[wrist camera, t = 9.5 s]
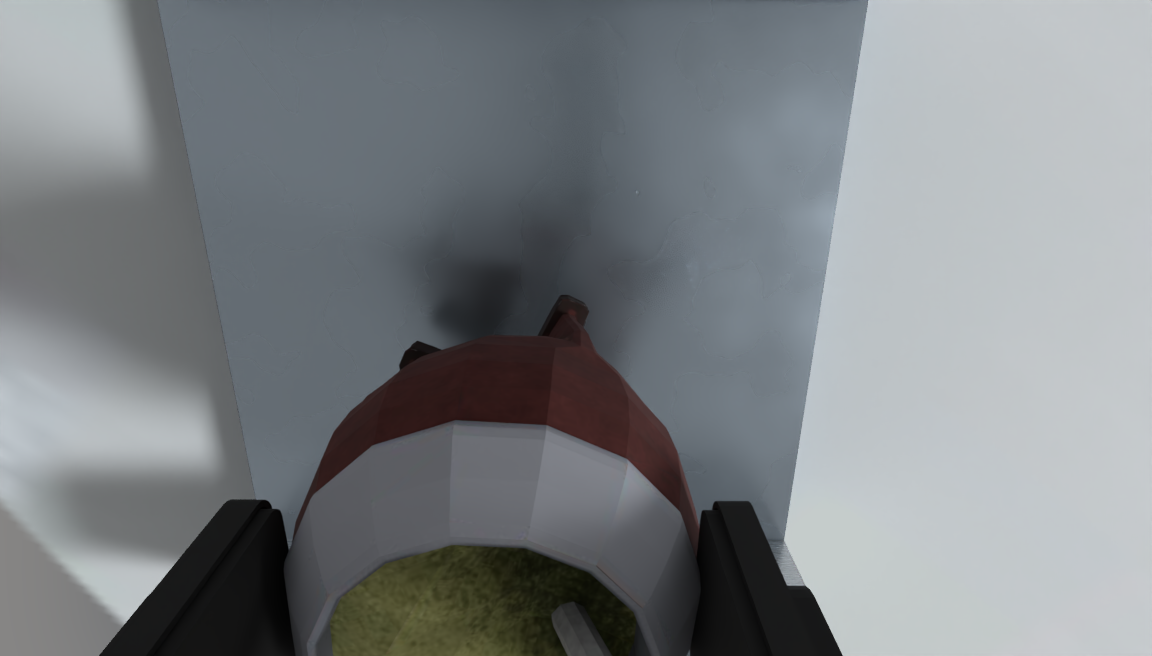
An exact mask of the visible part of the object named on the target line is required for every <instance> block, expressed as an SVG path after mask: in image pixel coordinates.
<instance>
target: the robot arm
mask: <svg viewBox="0 0 1152 656" xmlns="http://www.w3.org/2000/svg"><path fill="white" fill-rule="evenodd" d="M288 552H289V549H288V543H287V538H286V532H285V527H284V521H283V516H282V513H281V511H280V510H279V509H272V506H271V504H270V502H269V501H267V500H229V501H227V502H226V503H225V504H224V505H223V506H222V507H221V508H220V510H219V511H218V512H217V513H216V514H215V516H214V517H213V518H212V519H211V521H210V522H209V523H208V524H207V526H206V527H205V528H204V529H203V530H202V532H201V533H200V534H199V535H198V537H197V538H196V539H195V540H194V541H193V543H192V544H191V545H190V546H189V548H188V549H187V550H186V551H185V552H184V554H183V555H182V556H181V557H180V559H179V560H178V561H177V562H176V563H175V565H174V566H173V567H172V568H171V570H170V571H169V572H168V573H167V574H166V576H165V577H164V578H163V579H162V581H161V582H160V583H159V584H158V585H157V587H156V588H155V589H154V590H153V592H152V593H151V594H150V595H149V596H148V597H147V598H146V599H145V600H144V601H143V603H142V604H141V605H140V606H139V608H138V609H137V610H136V611H135V612H134V614H133V615H132V616H131V617H130V619H129V620H128V621H127V622H126V623H125V625H124V626H123V627H122V628H121V630H120V631H119V632H118V633H117V634H116V636H115V637H114V638H113V639H112V640H111V642H110V643H109V644H108V645H107V647H106V648H105V649H104V650H103V652H102V653H101V654H100V655H99V656H296V655H295V649H294V642H293V636H292V630H291V622H290V615H289V608H288V600H287V593H286V586H285V578H284V562H285V559H286V557H287V554H288ZM697 564H698V567H699V570H700V583H701V593H700V599H699V604H698V610H697V615H696V620H695V625H694V631H693V636H692V641H691V646H690V656H843V655H842V653H841V651H840V649H839V647H838V645H837V643H836V641H835V639H834V637H833V635H832V632H831V630H830V628H829V626H828V624H827V622H826V620H825V618H824V616H823V614H822V612H821V609H820V607H819V605H818V603H817V601H816V599H815V597H814V595H813V594H812V592H811V591H810V589H809V588H807V587H806V586H787V584H786V582H785V580H784V577H783V575H782V573H781V570H780V568H779V566H778V564H777V561H776V559H775V557H774V554H773V552H772V550H771V547H770V545H769V543H768V541H767V538H766V536H765V534H764V531H763V529H762V527H761V525H760V522H759V520H758V518H757V515H756V513H755V511H754V508H753V506H752V505H751V503H750V502H749V501H715V502H714V503H713V506H712V510H703V511H702V513H701V518H700V528H699V538H698V548H697Z"/></svg>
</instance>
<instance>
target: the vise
mask: <svg viewBox="0 0 1152 656" xmlns="http://www.w3.org/2000/svg"><path fill="white" fill-rule="evenodd" d="M157 3H158V8H159V13H160V18H161V23H162V28H163V33H164V38H165V43H166V48H167V53H168V58H169V63H170V68H171V73H172V78H173V83H174V89H175V94H176V99H177V104H178V109H179V114H180V119H181V124H182V129H183V134H184V139H185V144H186V149H187V154H188V159H189V164H190V169H191V174H192V180H193V185H194V190H195V195H196V200H197V205H198V210H199V215H200V220H201V225H202V230H203V235H204V240H205V245H206V250H207V255H208V260H209V265H210V270H211V276H212V281H213V286H214V291H215V296H216V301H217V306H218V311H219V316H220V321H221V326H222V331H223V336H224V341H225V346H226V351H227V356H228V361H229V366H230V372H231V377H232V382H233V387H234V392H235V397H236V402H237V407H238V412H239V417H240V422H241V427H242V432H243V437H244V442H245V447H246V452H247V457H248V462H249V468H250V473H251V478H252V483H253V488H254V493H255V498H256V500H267V501H269V502H270V504H271V506H272V509H279V510H280V511H281V513H282V516H283V521H284V527H285V532H286V538H287V543H288V549H289V550H290V547H291V545H292V540H293V534H294V528H295V522H296V520H297V517H298V515H299V512H300V510H301V508H302V505H303V503H304V500H305V498H306V495H307V493H308V491H309V488H310V486H311V483H312V481H313V479H314V476H315V474H316V471H317V469H318V466H319V464H320V462H321V459H322V457H323V455H324V452H325V450H326V448H327V446H328V443H329V441H330V439H331V436H332V434H333V432H334V431H335V429H336V428H337V427H338V426H339V424H340V423H341V422H342V421H343V420H344V418H345V417H346V416H347V415H348V413H349V412H350V411H351V410H352V409H353V408H355V407H356V406H357V405H358V404H360V403H361V402H362V401H363V400H364V399H365V398H366V397H367V396H368V395H369V394H370V393H372V392H373V391H375V390H376V389H377V388H379V387H380V386H381V385H383V384H384V383H385V382H387V381H388V380H389V379H390V378H391V377H393V376H394V375H395V374H396V373H398V372H399V371H400V368H399V364H400V361H401V359H402V357H403V354H404V352H405V351H406V350H407V349H409V348H410V347H411V345H412V344H413V343H415V342H416V341H420V342H423V343H426V344H428V345H431V346H434V347H437V348H439V349H441V350H443V349H446V348H449V347H453V346H456V345H459V344H462V343H465V342H468V341H471V340H474V339H478V338H481V337H484V336H488V335H518V336H538V334H539V332H540V330H541V328H542V326H543V324H544V322H545V320H546V319H547V317H548V315H549V313H550V311H551V309H552V308H553V306H554V304H555V303H556V301H557V299H558V298H559V296H560V295H570V296H572V297H574V298H576V299H578V300H580V301H583V302H584V303H585V304H586V306H587V307H588V310H589V314H588V316H587V318H586V321H585V323H584V326H583V327H584V329H585V330H586V331H587V333H588V334H589V337H590V339H591V341H592V343H593V345H594V347H595V349H596V351H597V353H598V354H599V355H600V356H601V357H603V358H604V359H605V360H606V361H607V362H608V363H609V364H610V365H612V366H613V367H614V368H615V369H616V370H617V371H618V372H619V373H620V374H621V376H622V377H623V378H624V379H625V381H626V382H627V383H628V384H629V385H630V387H631V388H632V389H633V390H634V391H635V393H636V394H637V395H638V396H639V397H640V399H641V400H642V401H643V402H644V404H645V405H646V406H647V407H648V408H649V409H650V410H651V411H652V412H653V414H654V415H655V416H656V417H657V418H658V419H659V420H660V421H661V422H662V423H663V425H664V426H665V427H666V428H667V430H668V432H669V434H670V437H671V439H672V441H673V443H674V445H675V447H676V449H677V452H678V455H679V458H680V461H681V465H682V468H683V471H684V474H685V478H686V481H687V484H688V487H689V490H690V494H691V497H692V500H693V503H694V507H695V510H696V514H697V518H698V523H699V528H700V518H701V513H702V511H703V510H712V506H713V503H714V502H715V501H749V502H750V503H751V505H752V506H753V508H754V511H755V513H756V515H757V518H758V520H759V522H760V525H761V527H762V529H763V531H764V534H765V536H766V538H767V541H768V543H769V545H770V547H771V550H772V552H773V554H774V557H775V559H776V561H777V564H778V566H779V568H780V570H781V573H782V575H783V577H784V580H785V582H786V584H787V586H805V584H804V581H803V579H802V577H801V575H800V573H799V571H798V569H797V567H796V565H795V563H794V561H793V558H792V556H791V554H790V552H789V550H788V548H787V546H786V544H785V542H784V536H785V530H786V523H787V517H788V511H789V504H790V498H791V491H792V485H793V479H794V472H795V466H796V459H797V453H798V447H799V440H800V434H801V427H802V421H803V415H804V408H805V402H806V395H807V389H808V383H809V376H810V370H811V363H812V357H813V351H814V344H815V338H816V331H817V325H818V319H819V312H820V306H821V299H822V293H823V287H824V280H825V274H826V267H827V261H828V255H829V248H830V242H831V235H832V229H833V223H834V216H835V210H836V204H837V197H838V191H839V184H840V178H841V172H842V165H843V159H844V152H845V146H846V140H847V133H848V127H849V120H850V114H851V108H852V101H853V95H854V88H855V82H856V76H857V69H858V63H859V56H860V50H861V44H862V37H863V31H864V24H865V18H866V12H867V5H868V0H157ZM687 656H690V650H689V652H688V654H687Z"/></svg>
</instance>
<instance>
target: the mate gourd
mask: <svg viewBox="0 0 1152 656" xmlns="http://www.w3.org/2000/svg"><path fill="white" fill-rule="evenodd" d="M588 314H589V310H588V307H587V306H586V304H585V303H584V302H583V301H580V300H578V299H576V298H574V297H572V296H570V295H560V296H559V298H558V299H557V301H556V303H555V304H554V306H553V308H552V309H551V311H550V313H549V315H548V317H547V319H546V320H545V322H544V324H543V326H542V328H541V330H540V332H539V334H538V336H518V335H488V336H484V337H481V338H478V339H474V340H471V341H468V342H465V343H462V344H459V345H456V346H453V347H449V348H446V349H443V350H441V349H439V348H437V347H434V346H431V345H428V344H426V343H423V342H420V341H416V342H415V343H413V344H412V345H411V347H410V348H409V349H407V350H406V351H405V352H404V354H403V357H402V359H401V361H400V364H399V368H400V371H399V372H398V373H396V374H395V375H394V376H393V377H391V378H390V379H389V380H388V381H387V382H385V383H384V384H383V385H381V386H380V387H379V388H377V389H376V390H375V391H373V392H372V393H370V394H369V395H368V396H367V397H366V398H365V399H364V400H363V401H362V402H361V403H360V404H358V405H357V406H356V407H355V408H353V409H352V410H351V411H350V412H349V413H348V415H347V416H346V417H345V418H344V420H343V421H342V422H341V423H340V424H339V426H338V427H337V428H336V429H335V431H334V432H333V434H332V436H331V439H330V441H329V443H328V446H327V448H326V450H325V452H324V455H323V457H322V459H321V462H320V464H319V466H318V469H317V471H316V474H315V476H314V479H313V481H312V483H311V486H310V488H309V491H308V493H307V495H306V498H305V500H304V503H303V505H302V508H301V510H300V512H299V515H298V517H297V520H296V522H295V528H294V534H293V540H292V545H291V547H290V550H289V552H288V554H287V557H286V559H285V562H284V578H285V586H286V593H287V600H288V608H289V615H290V622H291V630H292V636H293V642H294V649H295V655H296V656H687V654H688V652H689V650H690V646H691V641H692V636H693V631H694V625H695V620H696V615H697V610H698V604H699V599H700V593H701V583H700V570H699V567H698V564H697V548H698V538H699V523H698V518H697V514H696V510H695V507H694V503H693V500H692V497H691V494H690V490H689V487H688V484H687V481H686V478H685V474H684V471H683V468H682V465H681V461H680V458H679V455H678V452H677V449H676V447H675V445H674V443H673V441H672V439H671V437H670V434H669V432H668V430H667V428H666V427H665V426H664V425H663V423H662V422H661V421H660V420H659V419H658V418H657V417H656V416H655V415H654V414H653V412H652V411H651V410H650V409H649V408H648V407H647V406H646V405H645V404H644V402H643V401H642V400H641V399H640V397H639V396H638V395H637V394H636V393H635V391H634V390H633V389H632V388H631V387H630V385H629V384H628V383H627V382H626V381H625V379H624V378H623V377H622V376H621V374H620V373H619V372H618V371H617V370H616V369H615V368H614V367H613V366H612V365H610V364H609V363H608V362H607V361H606V360H605V359H604V358H603V357H601V356H600V355H599V354H598V353H597V351H596V349H595V347H594V345H593V343H592V341H591V339H590V337H589V334H588V333H587V331H586V330H585V329H584V327H583V326H584V323H585V321H586V318H587V316H588Z"/></svg>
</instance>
